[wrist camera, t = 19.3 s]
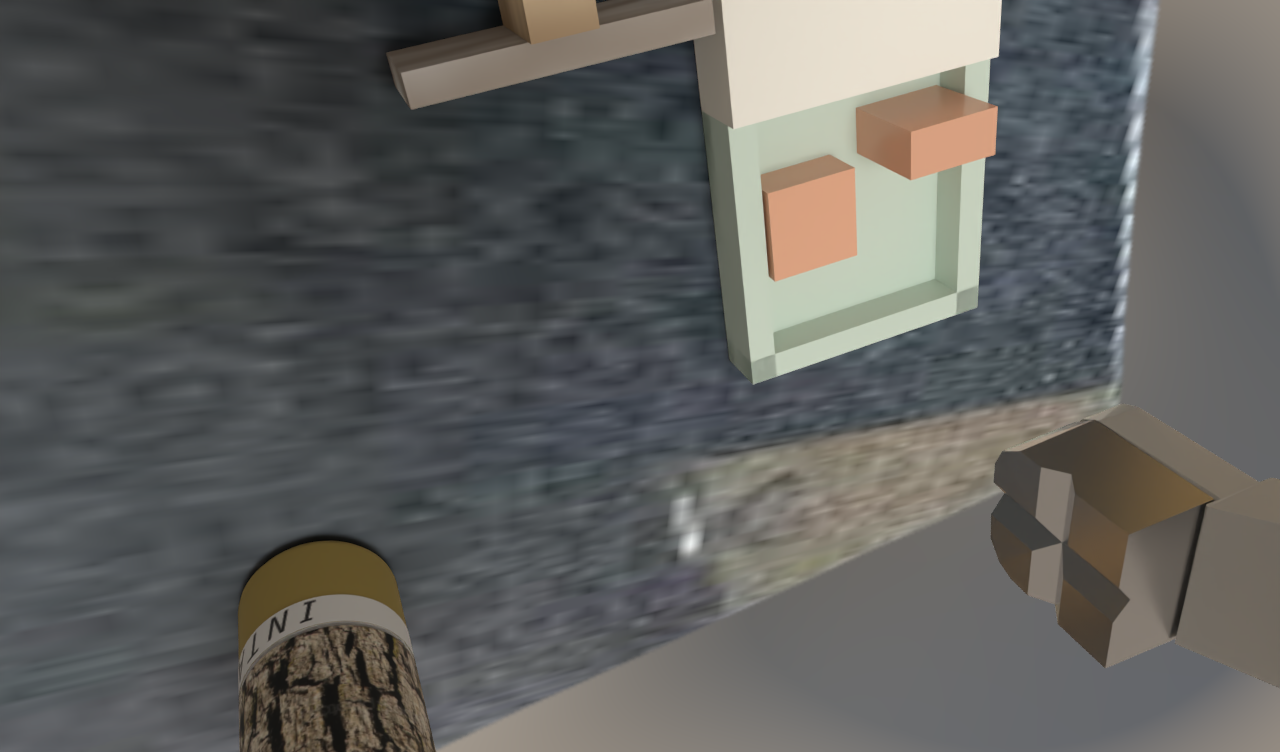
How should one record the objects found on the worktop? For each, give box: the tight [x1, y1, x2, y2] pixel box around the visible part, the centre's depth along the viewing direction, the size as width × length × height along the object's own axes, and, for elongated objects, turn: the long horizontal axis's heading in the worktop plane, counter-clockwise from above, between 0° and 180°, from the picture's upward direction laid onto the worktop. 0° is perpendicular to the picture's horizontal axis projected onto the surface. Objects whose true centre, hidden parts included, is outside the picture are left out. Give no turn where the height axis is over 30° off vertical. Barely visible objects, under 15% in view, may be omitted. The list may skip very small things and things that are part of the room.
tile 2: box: [856, 85, 998, 180], centre depth 40 cm, size 4×4×2 cm
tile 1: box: [761, 155, 857, 282], centre depth 41 cm, size 4×4×2 cm
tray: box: [702, 59, 990, 384], centre depth 42 cm, size 12×12×2 cm
